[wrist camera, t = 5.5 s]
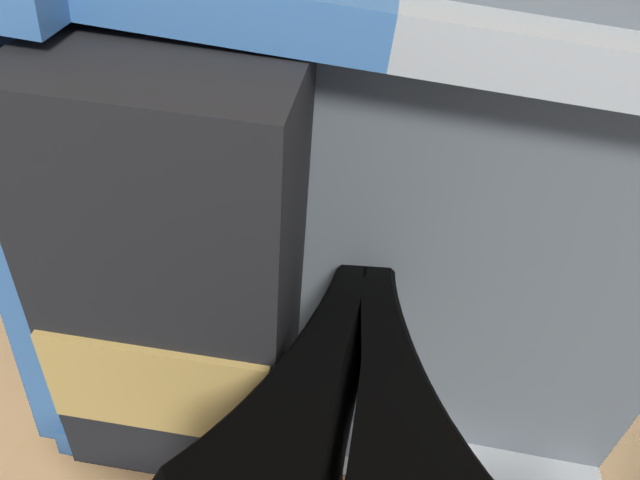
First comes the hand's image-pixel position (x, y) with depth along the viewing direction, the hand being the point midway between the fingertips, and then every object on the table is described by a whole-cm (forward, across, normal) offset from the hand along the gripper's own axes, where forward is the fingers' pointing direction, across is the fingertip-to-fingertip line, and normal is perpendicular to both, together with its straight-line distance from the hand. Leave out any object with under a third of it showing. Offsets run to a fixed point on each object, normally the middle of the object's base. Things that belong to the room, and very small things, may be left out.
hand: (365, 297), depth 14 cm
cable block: (+1, +4, -1) cm, 4 cm away
